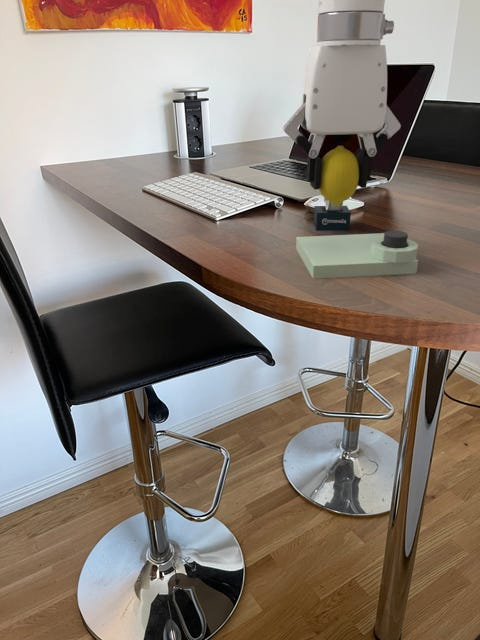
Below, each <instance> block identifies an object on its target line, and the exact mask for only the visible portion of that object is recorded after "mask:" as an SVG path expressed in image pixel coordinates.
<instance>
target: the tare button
mask: <svg viewBox="0 0 480 640" xmlns="http://www.w3.org/2000/svg"><path fill="white" fill-rule="evenodd" d="M383 233H384V241H383V246H385V247H388V248H405V247H406V245H407V239H408V236H409V235H408V233H407V232H405V231H401V230H387V231H385V232H383Z"/></svg>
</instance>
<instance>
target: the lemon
mask: <svg viewBox="0 0 480 640" xmlns="http://www.w3.org/2000/svg"><path fill="white" fill-rule="evenodd" d="M321 159H322V166H321V183H320V188H319V189H318V191H319V193H320V195H321V196H322V197H323V199H324V198H325V199H327V200H329V201H330V202H331V203H332V204H333V205H334V206H339V205H340V204H341V203H342V202H343V203H344V202H345V201H347V200H349V199H350V198H351V197H352V196H353V195H354V194H355V192H356V190H357V189H358V182H359V165H358V161H357V156H356V155H355V154H354V153H353V152H352V151H350V150H348V149H347V148H345V146H344V145H337V146H336V147H335V148H333V149H331V150H329V151H327V153H326V154H325V155H324V156H323V157H322V158H321Z"/></svg>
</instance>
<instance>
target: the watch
mask: <svg viewBox="0 0 480 640" xmlns="http://www.w3.org/2000/svg"><path fill="white" fill-rule="evenodd" d="M323 202H324V204H325V205H313V206H314V208H313V226H314V229H315V231H316V232H317V231H318V232H319V231H323V232H324V231H327V232H328V231H332V232H333V231H335V232H336V231H350V227H351V226H350V225H351V211H350V209H349V206H347V205H343V204H344V201H343V202H342V203H341V204H340V205H339V206H334V205H333V204H332V203H331V202H330V201H329V200H327V199H325V198H324V197H323Z"/></svg>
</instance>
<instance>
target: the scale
mask: <svg viewBox="0 0 480 640" xmlns="http://www.w3.org/2000/svg"><path fill="white" fill-rule="evenodd" d="M384 233H385V232H381V233H359V234H357V233H356V234H336V235H335V234H333V235H314V236H313V235H311V236H309V235H308V236H296V237H295V238H296V239H295V249H296V251H297V253H298V255H299V257H300V258H301V260H302V262H303V264H304V266H305V267H306V269H307V272H308V273H309V274H310V276H311V278H312V279H313V280H315V279H336V278H355V277H378V276H395V275H396V276H398V275H415V274H417V273H418V265H419V260H418V259H417V256H418V252H419V251H418V250H419V244H418V243H416V242H415V241H414V240H413V239H408V238H407V245H406V247H405V248H388V247H385V246H383V241H384Z"/></svg>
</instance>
